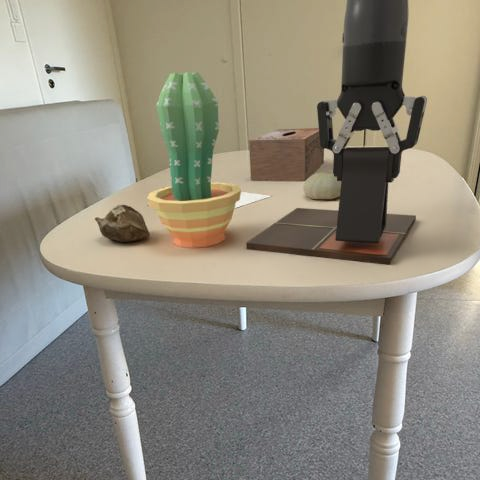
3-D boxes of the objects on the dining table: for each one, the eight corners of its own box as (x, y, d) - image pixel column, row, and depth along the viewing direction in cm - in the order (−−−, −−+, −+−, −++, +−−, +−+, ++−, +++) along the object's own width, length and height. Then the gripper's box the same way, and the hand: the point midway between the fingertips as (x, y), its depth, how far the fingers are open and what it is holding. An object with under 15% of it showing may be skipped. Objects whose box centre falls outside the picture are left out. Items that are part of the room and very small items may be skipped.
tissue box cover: (277, 163, 139) (276, 129, 135) (323, 163, 135) (324, 127, 130) (250, 180, 118) (248, 140, 114) (304, 181, 113) (304, 139, 109)
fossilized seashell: (84, 226, 78) (110, 247, 72) (98, 191, 77) (126, 209, 71) (120, 238, 84) (147, 258, 78) (134, 205, 83) (162, 223, 77)
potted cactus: (250, 225, 81) (242, 68, 70) (235, 254, 68) (222, 66, 56) (170, 226, 84) (149, 75, 72) (140, 254, 71) (108, 75, 59)
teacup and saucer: (233, 196, 103) (232, 178, 101) (209, 203, 98) (207, 184, 96) (207, 192, 109) (205, 175, 107) (183, 199, 103) (180, 181, 102)
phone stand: (378, 244, 62) (385, 152, 56) (334, 241, 64) (338, 153, 58) (386, 225, 69) (394, 142, 63) (347, 223, 71) (351, 143, 65)
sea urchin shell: (331, 180, 102) (344, 157, 95) (342, 210, 100) (357, 189, 93) (294, 185, 100) (305, 162, 93) (304, 215, 98) (317, 194, 91)
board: (415, 221, 78) (416, 214, 77) (390, 264, 61) (390, 257, 60) (296, 212, 87) (296, 207, 87) (246, 248, 70) (245, 242, 70)
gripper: (440, 36, 55) (423, 177, 62) (327, 47, 61) (324, 174, 69) (433, 33, 49) (414, 188, 57) (308, 46, 55) (307, 184, 63)
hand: (364, 180), depth 63 cm, fingers closed on phone stand, 6 cm apart
